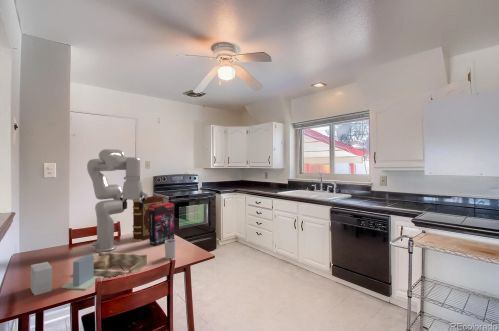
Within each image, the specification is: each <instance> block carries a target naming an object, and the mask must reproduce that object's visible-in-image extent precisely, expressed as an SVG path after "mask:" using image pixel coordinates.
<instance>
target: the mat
mask: <svg viewBox="0 0 499 331" xmlns="http://www.w3.org/2000/svg"><path fill="white" fill-rule="evenodd" d="M98 277H101V278H103V279H105V276H98V275H94V277H93V278H92V279H90V280H89V281H87V282H85V283H84V284H82V285H80V286H73V280H71V281H69V282H68V283H65V284H63V285H62V286H61V289H65V288H66V289H68V290H81V291H83V290H84V291H86V290H88V289H90V288H91V287H93V286H94V285H95V279H96V278H98Z"/></svg>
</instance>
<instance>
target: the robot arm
mask: <svg viewBox="0 0 499 331" xmlns="http://www.w3.org/2000/svg"><path fill="white" fill-rule="evenodd" d="M86 169H87V173H88V175H89V177H90V179H91V181H92V187H93V191H94V195H95V198H96V199H97V200H100V201H99V202H97V203H96V204H95V207H94V210H95V214H96V241H93V242H92V244H91V246H93V247H94V246H95V247H94V248H93V250H94V252H96V253H99V252H107V253H108V252H111V251H113V250H115V249H116V248H117V244H115V243H114V241H115V240H114V238H115V237H114V234H115V229H114V228H115V222H114V220H113V219H114V218H112V217H111V215H117V214H122V213H123V212H125V211H126V210H127V209H128V200H129V201H130V200H132V201H133V200H137V199H138V200H139V202H140V203H139V210H142V209H143V202H144V201H145V200H146V198H147V197H149V195H148V194H147V193H145V192H144V190H143V185H142V184H143V183H142V181H141V158H139V157H134V156H133V157H132V156H125V153H124V152H123V150H121V149H111V148H105V149H102V150H100V151H99V153H98V158H92V159H89V160H88V162H87V164H86ZM114 171H125V176H124V177H123V180H125V181H124V182H123V186H122V188H121V186H120V185H118V184H115V183H114V184H109V183H108V179H107V176H106V175H104V174H103V173H102V172H114Z"/></svg>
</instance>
